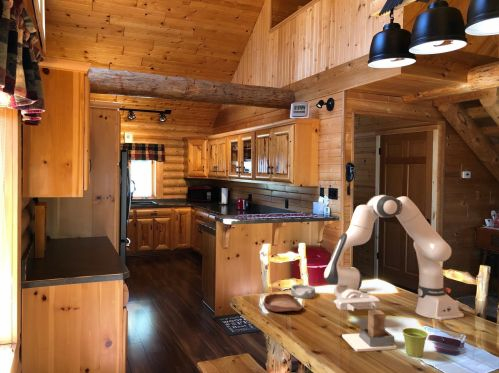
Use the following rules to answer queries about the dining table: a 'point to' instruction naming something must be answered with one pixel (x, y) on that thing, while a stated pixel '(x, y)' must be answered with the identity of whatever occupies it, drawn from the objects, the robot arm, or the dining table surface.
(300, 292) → the dish
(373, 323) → the walnut post
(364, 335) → the steel collar
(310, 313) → the dining table surface
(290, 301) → the basket
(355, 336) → the base plate
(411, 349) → the plant pot
